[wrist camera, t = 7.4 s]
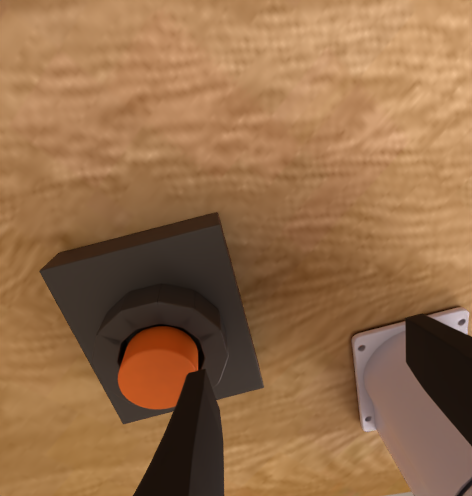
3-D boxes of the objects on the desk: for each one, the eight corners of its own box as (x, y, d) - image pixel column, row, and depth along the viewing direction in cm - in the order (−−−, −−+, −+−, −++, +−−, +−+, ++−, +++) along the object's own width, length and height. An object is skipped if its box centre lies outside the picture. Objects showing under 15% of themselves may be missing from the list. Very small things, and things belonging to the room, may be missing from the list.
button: (206, 371, 17) (206, 399, 15) (140, 388, 17) (133, 418, 15) (186, 317, 15) (184, 340, 14) (114, 336, 15) (104, 361, 14)
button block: (258, 362, 21) (270, 413, 18) (130, 395, 21) (115, 453, 18) (217, 211, 17) (222, 236, 13) (57, 253, 17) (18, 289, 13)
